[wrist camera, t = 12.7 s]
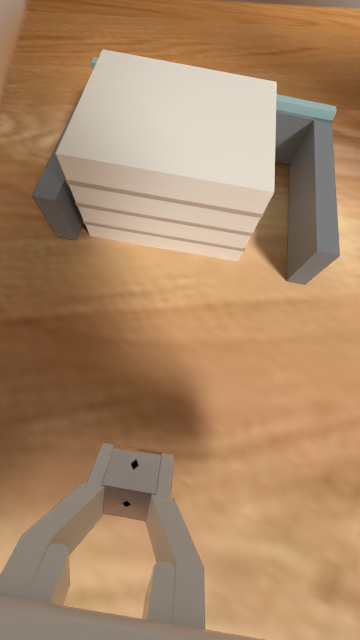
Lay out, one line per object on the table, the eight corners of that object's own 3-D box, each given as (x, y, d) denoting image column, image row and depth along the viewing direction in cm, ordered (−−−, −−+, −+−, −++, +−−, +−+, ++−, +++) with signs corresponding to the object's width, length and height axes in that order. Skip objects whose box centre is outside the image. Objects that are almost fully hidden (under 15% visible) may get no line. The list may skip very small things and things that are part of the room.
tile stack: (244, 173, 23) (277, 81, 17) (237, 263, 20) (275, 193, 13) (118, 150, 23) (101, 48, 16) (90, 238, 20) (54, 153, 13)
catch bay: (304, 157, 24) (335, 103, 20) (305, 284, 19) (346, 250, 15) (106, 117, 24) (95, 54, 20) (57, 236, 19) (26, 187, 15)
